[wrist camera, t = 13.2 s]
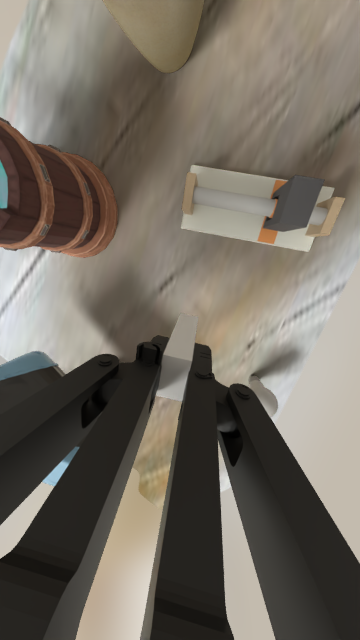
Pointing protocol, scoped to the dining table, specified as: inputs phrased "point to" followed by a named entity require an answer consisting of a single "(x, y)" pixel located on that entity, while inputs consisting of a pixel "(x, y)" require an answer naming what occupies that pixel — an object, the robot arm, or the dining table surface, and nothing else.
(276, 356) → the dining table surface
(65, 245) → the mug
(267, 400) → the lightbulb
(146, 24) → the plant pot
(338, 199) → the rail
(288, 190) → the dark grey slider block
